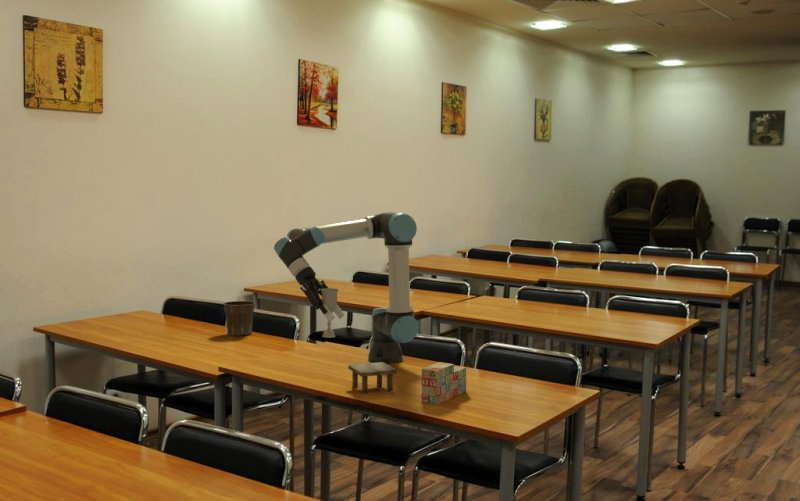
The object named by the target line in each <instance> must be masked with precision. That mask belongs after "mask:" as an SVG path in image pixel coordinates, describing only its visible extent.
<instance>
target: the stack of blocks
mask: <svg viewBox="0 0 800 501" xmlns="http://www.w3.org/2000/svg"><path fill="white" fill-rule="evenodd" d="M420 379H421V382H420V383H421V403H425V404H430V405H431V404H432V405H434V406H435V405H438V404H441V403H443V402H446V401H448V400H450V399H452V398H455V397H458V396H460V395H461V394H464V393H467V367H463V366H457V365H455V364H454V363H448V362H442V361H439V362H437V363H433V364H431V365H428V366H425V367H422V368H421V378H420Z"/></svg>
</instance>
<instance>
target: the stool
mask: <svg viewBox="0 0 800 501" xmlns="http://www.w3.org/2000/svg"><path fill="white" fill-rule="evenodd" d="M347 366H348V367H347V368H348V370H349V371H352V380H351V381H352V382H351V383H352V387H353V388H358V387H359V383H358V382H359V378H358V377H359V376H360V377H361V393H362V394H368V379H369V378H368V377H373V376H374V377H375V376H376V385H379V386H381V385H383V376H385V375H386V376H387V377H386V391H388V392H391V391H393V388H394V387H393V384H394V383H393V375H394V374H398V369H397V368H395V367H393V366H391V365H389V364H388V363H383V362H377V363H376V362H369V363H357V364H349V365H347Z"/></svg>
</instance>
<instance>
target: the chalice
mask: <svg viewBox="0 0 800 501" xmlns="http://www.w3.org/2000/svg"><path fill="white" fill-rule="evenodd" d="M321 291H322V296H321V300H322V302H323V305H324V304H326V306H327V307H328V308H329V310H330V311H331V312H332V314H333V313H334V309H335V307H336V304H337V305H338V293H339V289H338V288H332V287H330V288H329V287H328V288H325V289H321ZM326 319H327V318H326ZM326 325H327V328H326V329H325V330H324V332H323V334H322V336H321V337H322V338H335V337H336V335H335V332H334V330H333V329H331V325H332V322H329V320H328V319H327V323H326Z"/></svg>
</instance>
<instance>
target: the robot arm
mask: <svg viewBox="0 0 800 501" xmlns="http://www.w3.org/2000/svg"><path fill="white" fill-rule="evenodd" d="M417 229H418V227H417V223H416V221H415V219H414V218H413V217H412V216H411V215H409V214H408V213H404V212H391V211H387V212H382V213H378V214H374V215H368V216H365V217H364V218H363V219H358V220H351V221H344V222H338V223H331V224H324V225H319V226H316V225H314V226H310V227H304V228H292V229H291V230H289V231H288V233H287V235H286V236H284V237H281V238H280V239H279V240H277V241H276V242H275V244H274V246H273V250H274V251H275V253H276V255H277V256H278V258H279V259H280V260H281V261H282V263H283V264H284V265H285V267H286V268H287V269H288V271H289V272H290V274H291V275H292V277H294V279H295V280H296V282H297V283H298V284H299V286H300V287H299V288H300V290H301V291H302V292H303V293H304V295H305V296H306V298H307V300H308V302H310V304H311V305H312V306H313V308H314V309H316V310H320V311H321V313H322V314H323V315H324V316H325V318H326V319H328V320H329V322H330V323H332V321H333V320H334V319H336V317H337V318H338V320H341V319H342V318H343V317H344V316H345V315H346V314H345V312H343V311H342V308H341V307H340V306H339V305H338V303H337V304H336V307H335V309H334V311H333V313H334V314H335V315H336V316H335V315H334V314H333V313H332V312H331V311H330V310H329V308H328V307H327V306H326V304H324V305H323V302H322V291H321V289H325V288H329V287H328V286H327V284H326V282H325V281H324V280H323V279H322V280H320V281H319V280H318V279H317V278H316V275H317V274H316V272H315V270H314V269H313V267H311V266H310V264H309V263H308V261H307V259H305V257H304V255H306V254H307V253H309V252H311V251H313V250H314V249H316V248H317V247H320V246H321V245H322V244H330V243H336V242H342V241H350V240H355V239H356V240H357V239H362V238H367V239H368V240H370V239H384V241H383V242H384V247H385V248H386V249H387V250H388V251H387V253H388V257H387V258H388V262H387V263H388V295H389V296H388V300H389V304H388V305H389V306H388V307H377V308H374V309H373V310H372V315H371V319H372V321H371V323H372V324H371V325H372V326H371V327H372V330H371V331H372V332H371V335H372V336H371V337H372V339H371V340H372V341H371V342H372V343H371V346H370V348H369V351H368V354H367V358H368V359H367V360H368V361H369V362H370V363H377V362H383V363H385V364H395V363H400V362H402V361H403V359H404V358H403V356H404V355H403V350H402V348H401V345H400V343H401V344H403V343H404V344H406V343H408V342H411V341H412V340H414V338H415V337H416V336H417V334H418V332H419V323H418V321H417V319H415V317H414V315H415V313H414V308H413V307H412V306H411V305H410V298H411V296H410V248H411V247H412V246H413V239H414V237H416V234H417ZM328 320H327V321H328Z"/></svg>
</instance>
